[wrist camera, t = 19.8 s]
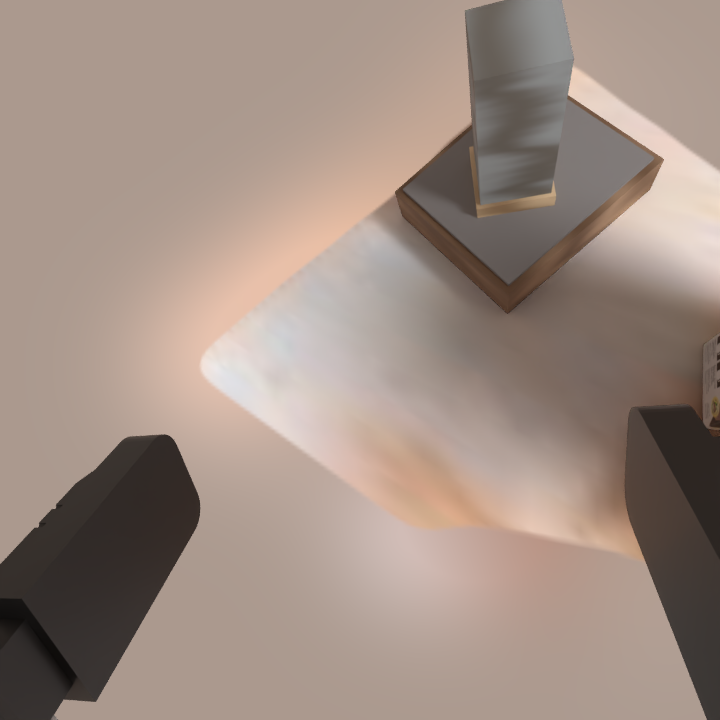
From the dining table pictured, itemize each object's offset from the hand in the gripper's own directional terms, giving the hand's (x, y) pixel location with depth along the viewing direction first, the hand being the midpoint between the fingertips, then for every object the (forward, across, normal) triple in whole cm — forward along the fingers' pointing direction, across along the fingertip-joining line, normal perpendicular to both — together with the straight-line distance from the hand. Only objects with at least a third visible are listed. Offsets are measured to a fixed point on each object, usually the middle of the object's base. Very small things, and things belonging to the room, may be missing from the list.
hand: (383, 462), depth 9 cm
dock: (+39, -6, +5) cm, 40 cm away
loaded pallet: (+36, -5, +2) cm, 36 cm away
